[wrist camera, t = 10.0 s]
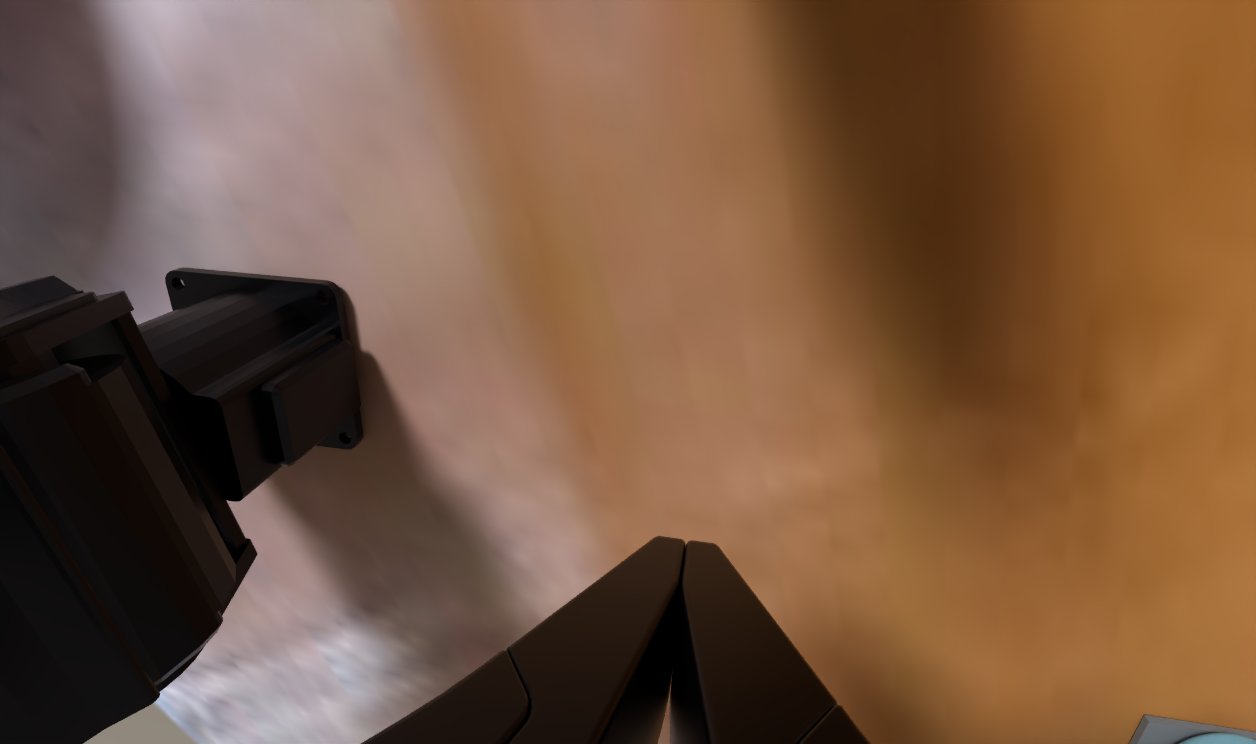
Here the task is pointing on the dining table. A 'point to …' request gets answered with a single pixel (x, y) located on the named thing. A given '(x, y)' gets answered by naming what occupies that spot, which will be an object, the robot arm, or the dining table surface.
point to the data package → (1219, 739)
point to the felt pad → (1176, 731)
